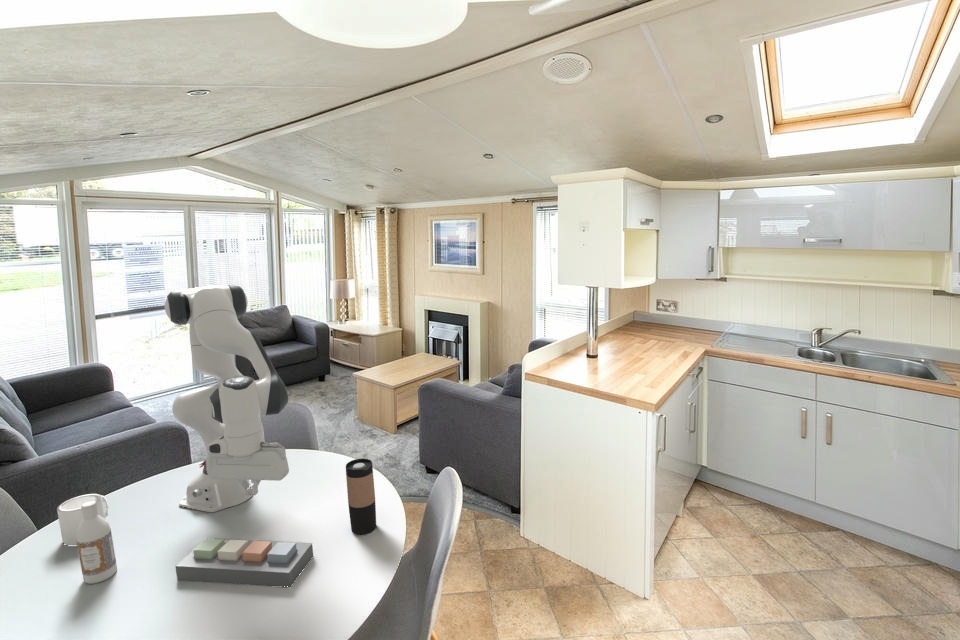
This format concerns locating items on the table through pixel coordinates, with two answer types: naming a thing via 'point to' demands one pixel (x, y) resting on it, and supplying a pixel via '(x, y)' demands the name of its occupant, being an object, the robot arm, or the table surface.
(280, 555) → the slate key
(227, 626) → the table surface
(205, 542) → the sage key
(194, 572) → the keypad
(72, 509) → the mug
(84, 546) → the bath foam
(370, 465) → the travel mug
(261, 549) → the terracotta key
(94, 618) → the table surface
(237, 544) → the cream key
